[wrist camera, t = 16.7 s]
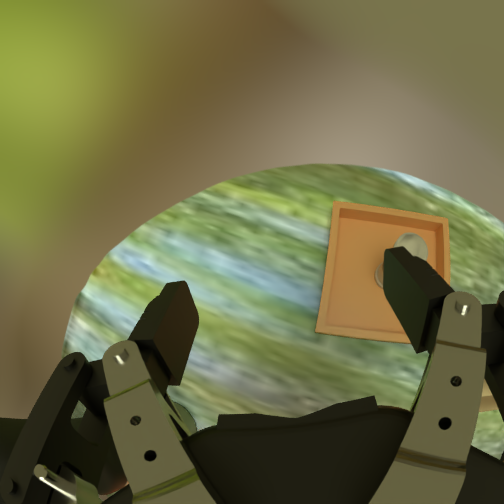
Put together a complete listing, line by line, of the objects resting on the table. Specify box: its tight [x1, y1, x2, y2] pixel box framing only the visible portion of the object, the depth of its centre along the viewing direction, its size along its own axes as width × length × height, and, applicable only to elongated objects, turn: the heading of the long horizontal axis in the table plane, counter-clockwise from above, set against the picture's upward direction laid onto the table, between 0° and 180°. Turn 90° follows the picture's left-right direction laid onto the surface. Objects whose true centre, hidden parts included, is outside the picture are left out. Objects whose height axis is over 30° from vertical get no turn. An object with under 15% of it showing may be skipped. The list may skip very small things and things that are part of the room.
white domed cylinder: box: [374, 232, 428, 289], centre depth 29 cm, size 4×4×11 cm
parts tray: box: [315, 201, 450, 344], centre depth 33 cm, size 18×18×4 cm
